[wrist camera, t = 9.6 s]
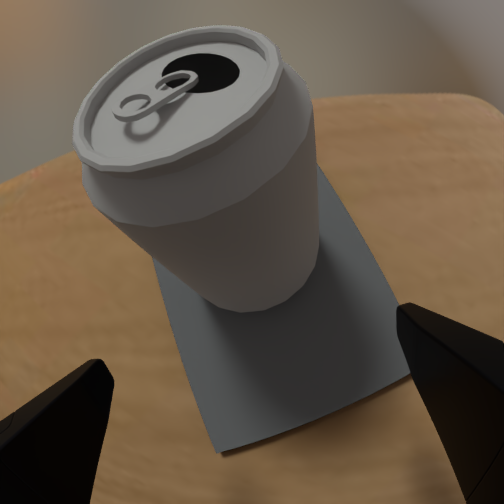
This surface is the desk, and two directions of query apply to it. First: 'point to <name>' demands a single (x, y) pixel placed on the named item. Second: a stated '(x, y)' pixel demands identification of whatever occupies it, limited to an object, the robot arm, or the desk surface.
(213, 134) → the can
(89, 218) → the desk surface
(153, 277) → the desk surface
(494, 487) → the robot arm
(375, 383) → the mat
